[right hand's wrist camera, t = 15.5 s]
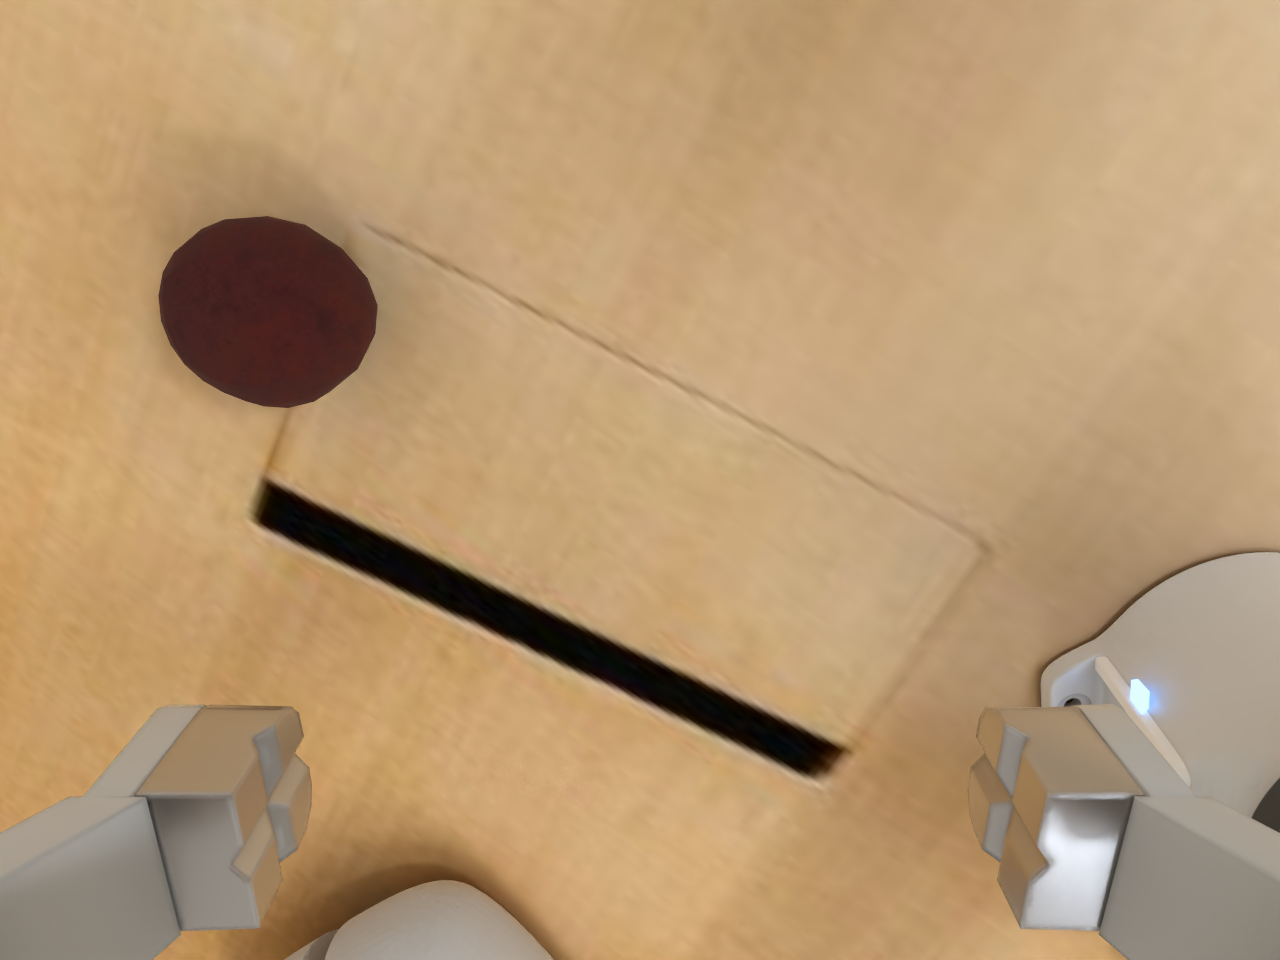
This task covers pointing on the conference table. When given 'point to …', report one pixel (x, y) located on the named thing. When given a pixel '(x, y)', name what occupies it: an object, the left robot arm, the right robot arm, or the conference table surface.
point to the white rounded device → (429, 929)
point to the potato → (267, 310)
